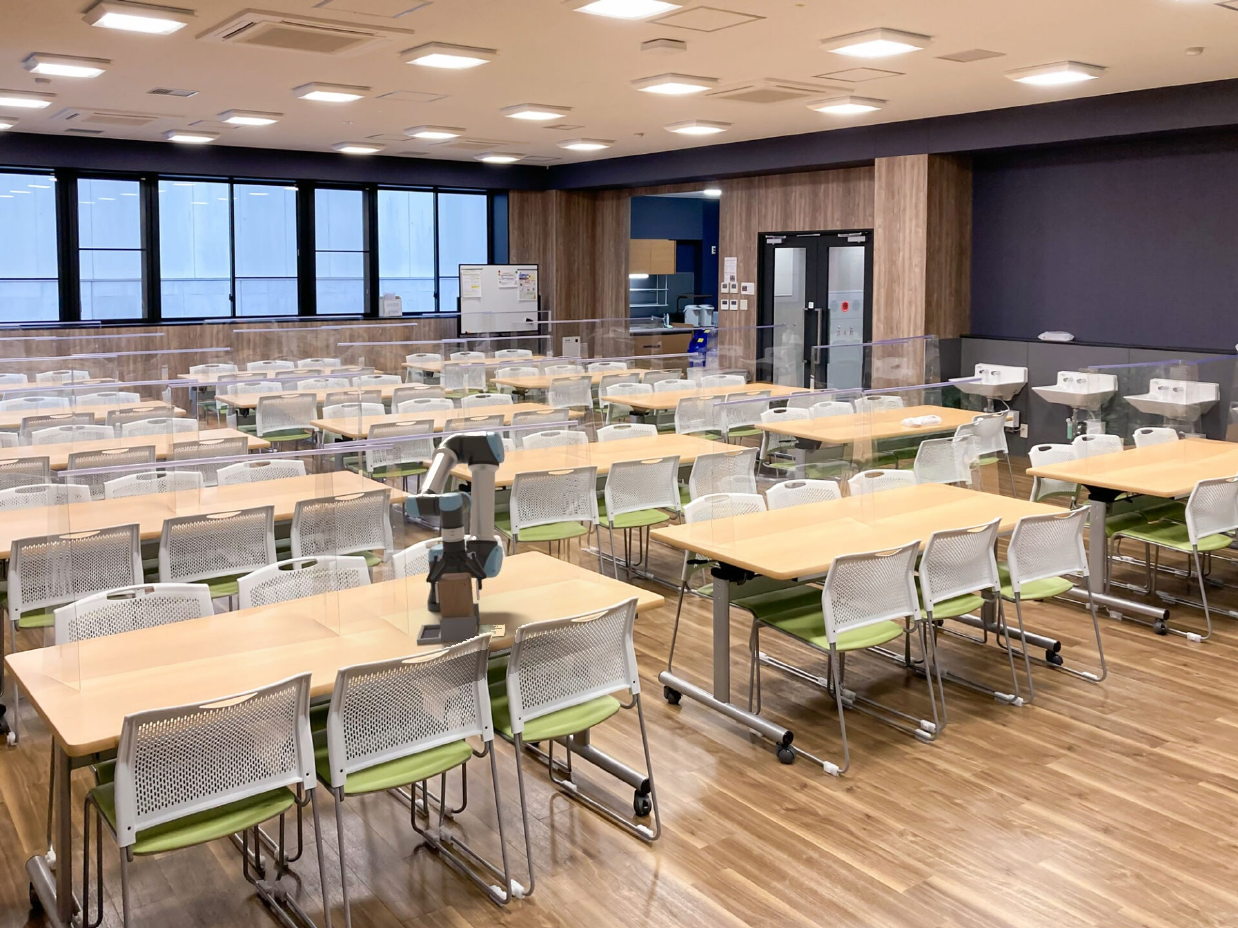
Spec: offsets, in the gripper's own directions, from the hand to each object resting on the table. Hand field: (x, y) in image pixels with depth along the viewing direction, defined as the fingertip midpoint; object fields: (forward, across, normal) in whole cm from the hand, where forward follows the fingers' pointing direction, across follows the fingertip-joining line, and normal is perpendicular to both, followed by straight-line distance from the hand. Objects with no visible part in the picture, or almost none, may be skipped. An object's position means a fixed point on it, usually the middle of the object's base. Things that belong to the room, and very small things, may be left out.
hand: (458, 600), depth 395 cm
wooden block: (+12, -1, +1) cm, 12 cm away
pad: (+12, +11, 0) cm, 16 cm away
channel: (+12, 0, 0) cm, 12 cm away
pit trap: (+12, -10, 0) cm, 15 cm away
